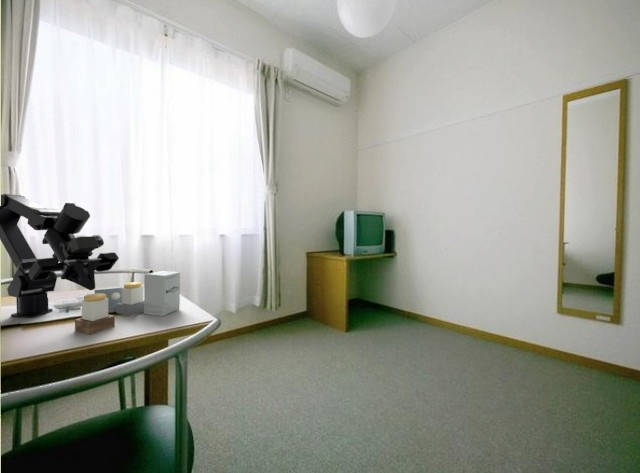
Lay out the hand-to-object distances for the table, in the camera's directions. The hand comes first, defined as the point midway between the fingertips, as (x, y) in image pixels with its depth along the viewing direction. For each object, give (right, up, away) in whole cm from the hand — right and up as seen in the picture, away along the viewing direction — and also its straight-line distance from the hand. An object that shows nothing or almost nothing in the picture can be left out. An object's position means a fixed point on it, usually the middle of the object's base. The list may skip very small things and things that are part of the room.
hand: (93, 289), depth 75 cm
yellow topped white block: (+1, -7, +14) cm, 16 cm away
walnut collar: (0, -11, 0) cm, 11 cm away
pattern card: (-7, -10, +15) cm, 19 cm away
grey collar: (+1, -10, +14) cm, 18 cm away
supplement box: (+10, -10, +16) cm, 21 cm away
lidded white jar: (0, -8, 0) cm, 8 cm away
